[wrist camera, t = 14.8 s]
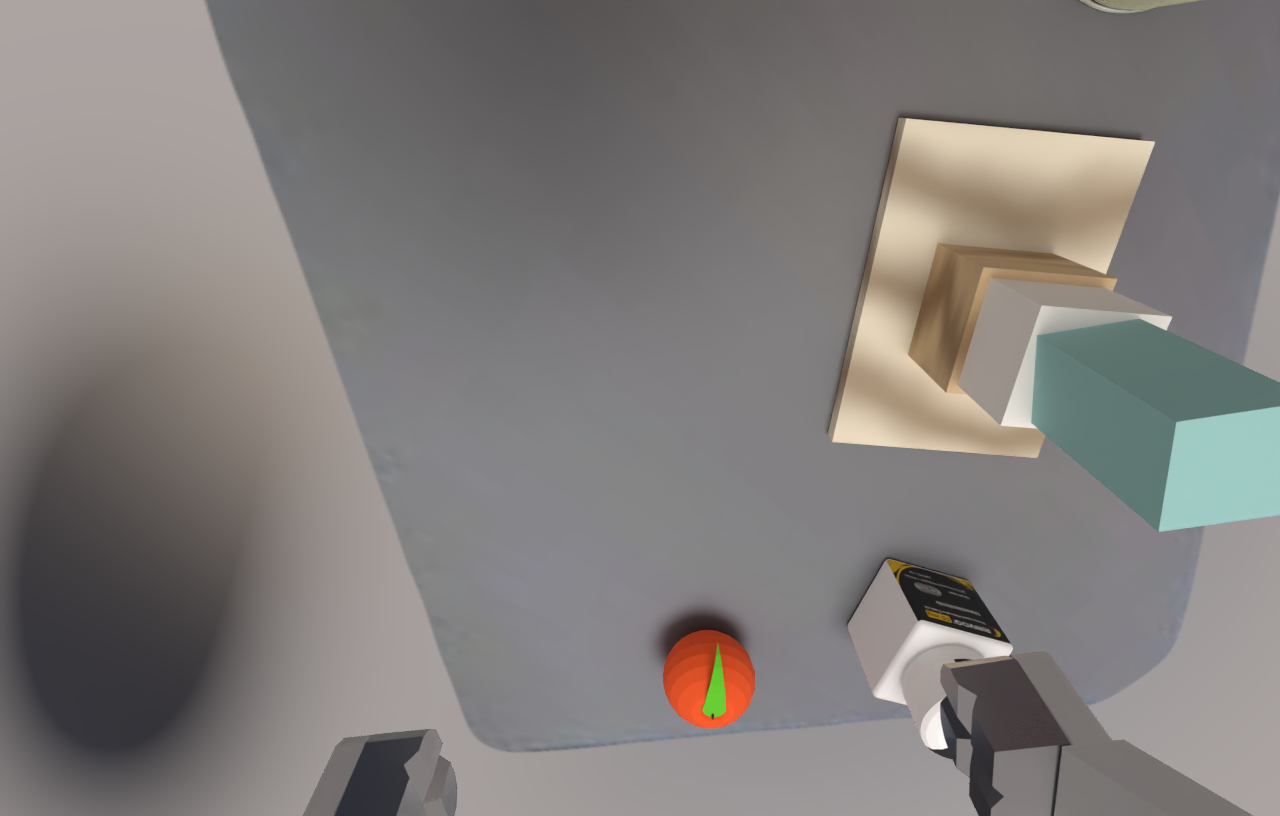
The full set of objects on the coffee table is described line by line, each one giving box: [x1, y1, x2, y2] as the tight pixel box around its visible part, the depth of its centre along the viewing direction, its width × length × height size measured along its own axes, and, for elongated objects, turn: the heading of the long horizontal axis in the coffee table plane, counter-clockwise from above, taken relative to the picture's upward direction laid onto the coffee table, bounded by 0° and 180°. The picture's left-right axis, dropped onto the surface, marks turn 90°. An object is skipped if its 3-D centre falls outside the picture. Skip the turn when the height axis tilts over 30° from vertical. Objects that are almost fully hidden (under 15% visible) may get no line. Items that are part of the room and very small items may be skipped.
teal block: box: [1031, 319, 1280, 532], centre depth 28 cm, size 4×4×9 cm
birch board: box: [828, 118, 1155, 458], centre depth 43 cm, size 20×14×1 cm
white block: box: [958, 278, 1172, 429], centre depth 34 cm, size 6×6×5 cm
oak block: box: [908, 243, 1117, 395], centre depth 39 cm, size 7×7×6 cm
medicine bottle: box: [848, 559, 1013, 759], centre depth 48 cm, size 7×7×12 cm
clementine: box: [663, 630, 755, 728], centre depth 52 cm, size 8×7×7 cm
